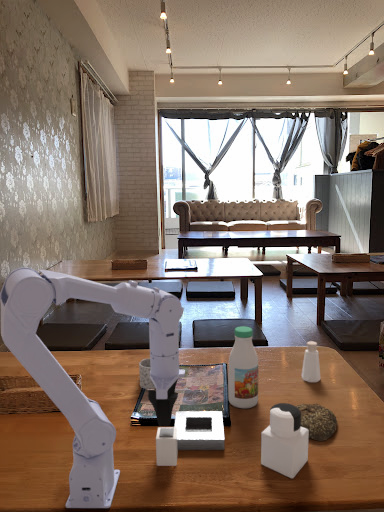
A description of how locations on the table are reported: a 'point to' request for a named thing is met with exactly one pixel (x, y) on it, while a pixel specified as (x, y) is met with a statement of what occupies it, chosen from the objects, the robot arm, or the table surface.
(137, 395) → the table surface
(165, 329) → the robot arm
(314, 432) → the bread roll
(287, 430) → the medicine bottle
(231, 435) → the table surface
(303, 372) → the salt shaker
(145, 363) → the mug
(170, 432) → the plug
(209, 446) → the socket
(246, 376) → the milk bottle
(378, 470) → the table surface
